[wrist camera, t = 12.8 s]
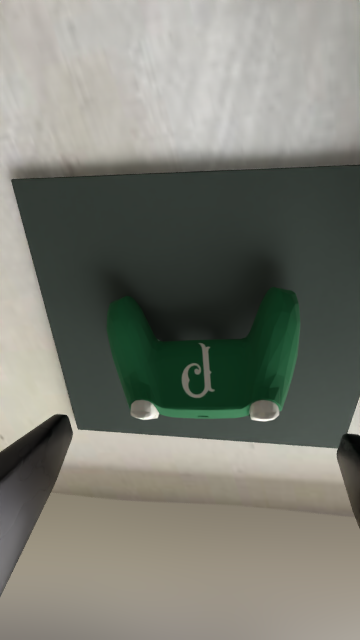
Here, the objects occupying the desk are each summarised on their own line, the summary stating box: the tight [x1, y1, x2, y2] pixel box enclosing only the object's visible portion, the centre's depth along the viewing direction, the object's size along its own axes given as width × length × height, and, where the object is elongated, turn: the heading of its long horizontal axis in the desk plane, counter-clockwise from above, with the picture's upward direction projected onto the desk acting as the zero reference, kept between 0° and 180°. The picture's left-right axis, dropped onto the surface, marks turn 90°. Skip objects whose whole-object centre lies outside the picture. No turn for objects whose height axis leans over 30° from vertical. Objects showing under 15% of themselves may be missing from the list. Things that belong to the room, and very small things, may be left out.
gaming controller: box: [107, 287, 300, 421], centre depth 13 cm, size 9×4×6 cm
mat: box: [11, 165, 360, 448], centre depth 15 cm, size 18×16×1 cm
